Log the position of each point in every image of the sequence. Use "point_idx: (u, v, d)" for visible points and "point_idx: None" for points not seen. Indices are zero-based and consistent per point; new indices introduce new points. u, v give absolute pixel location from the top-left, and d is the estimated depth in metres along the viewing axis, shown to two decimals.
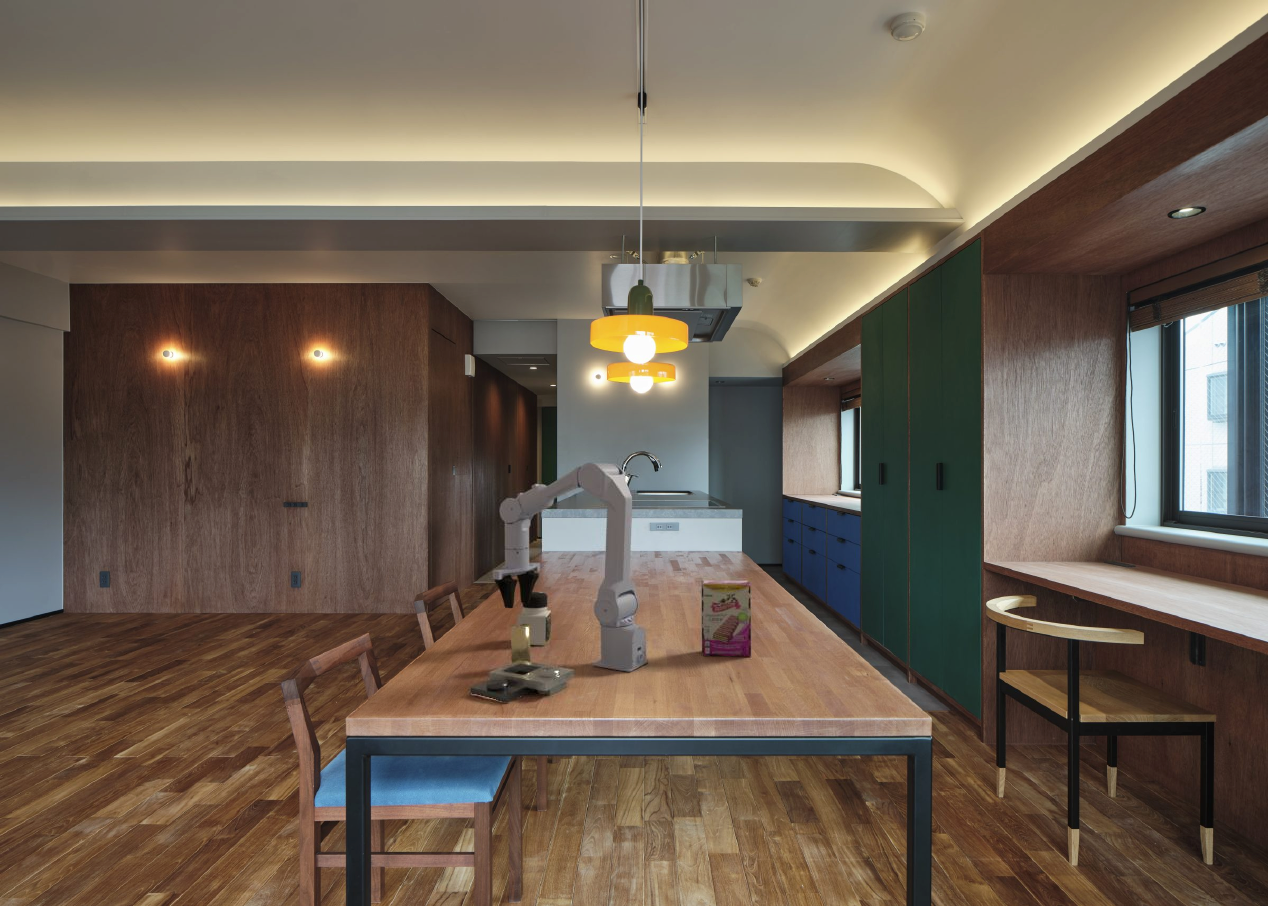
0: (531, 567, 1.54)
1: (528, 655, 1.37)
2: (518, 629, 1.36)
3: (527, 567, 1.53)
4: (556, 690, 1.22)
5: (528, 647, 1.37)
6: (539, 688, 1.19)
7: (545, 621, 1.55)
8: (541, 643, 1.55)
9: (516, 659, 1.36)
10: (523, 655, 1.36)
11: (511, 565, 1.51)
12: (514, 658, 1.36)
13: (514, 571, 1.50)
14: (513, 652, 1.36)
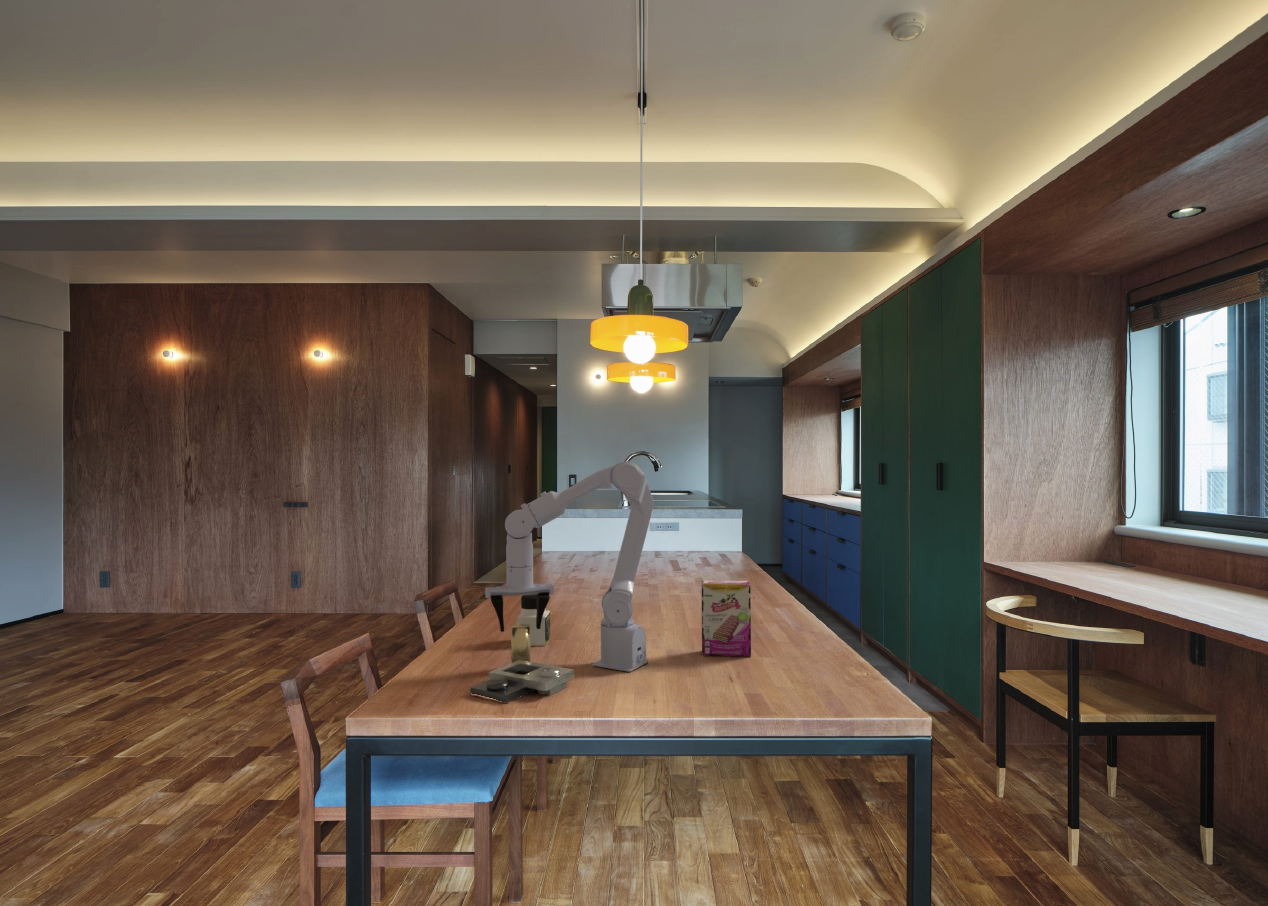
0: (532, 589, 1.37)
1: (528, 655, 1.37)
2: (518, 629, 1.36)
3: (523, 588, 1.36)
4: (556, 690, 1.22)
5: (528, 647, 1.37)
6: (539, 688, 1.19)
7: (544, 622, 1.55)
8: (541, 644, 1.55)
9: (516, 659, 1.36)
10: (523, 655, 1.36)
11: (507, 584, 1.37)
12: (514, 658, 1.36)
13: (505, 591, 1.35)
14: (513, 652, 1.36)
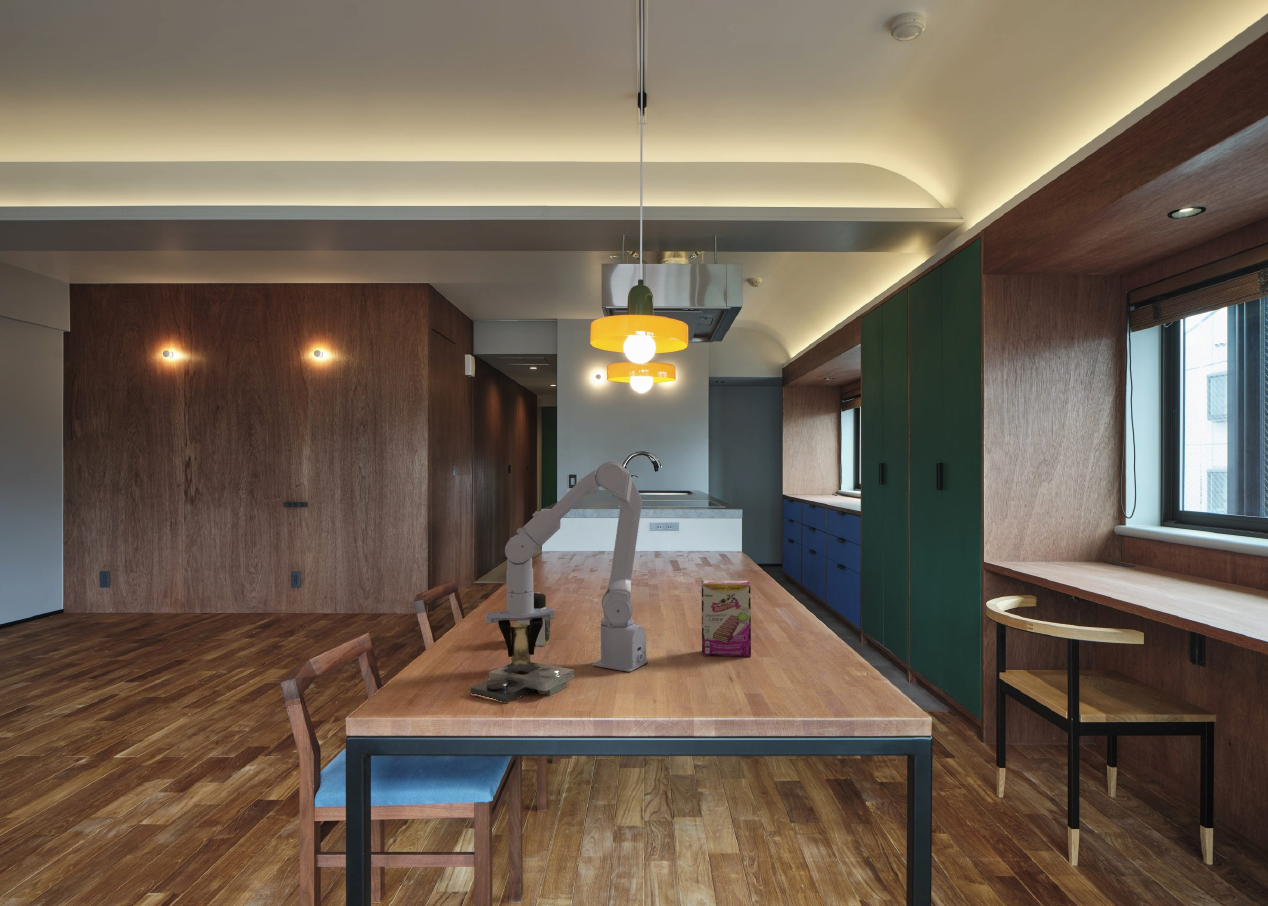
0: (532, 615, 1.36)
1: (528, 655, 1.37)
2: (518, 629, 1.36)
3: (523, 614, 1.35)
4: (556, 690, 1.22)
5: (528, 647, 1.37)
6: (539, 688, 1.19)
7: (544, 622, 1.55)
8: (541, 644, 1.55)
9: (516, 659, 1.36)
10: (523, 655, 1.36)
11: (507, 610, 1.37)
12: (514, 658, 1.36)
13: (505, 617, 1.35)
14: (513, 652, 1.36)
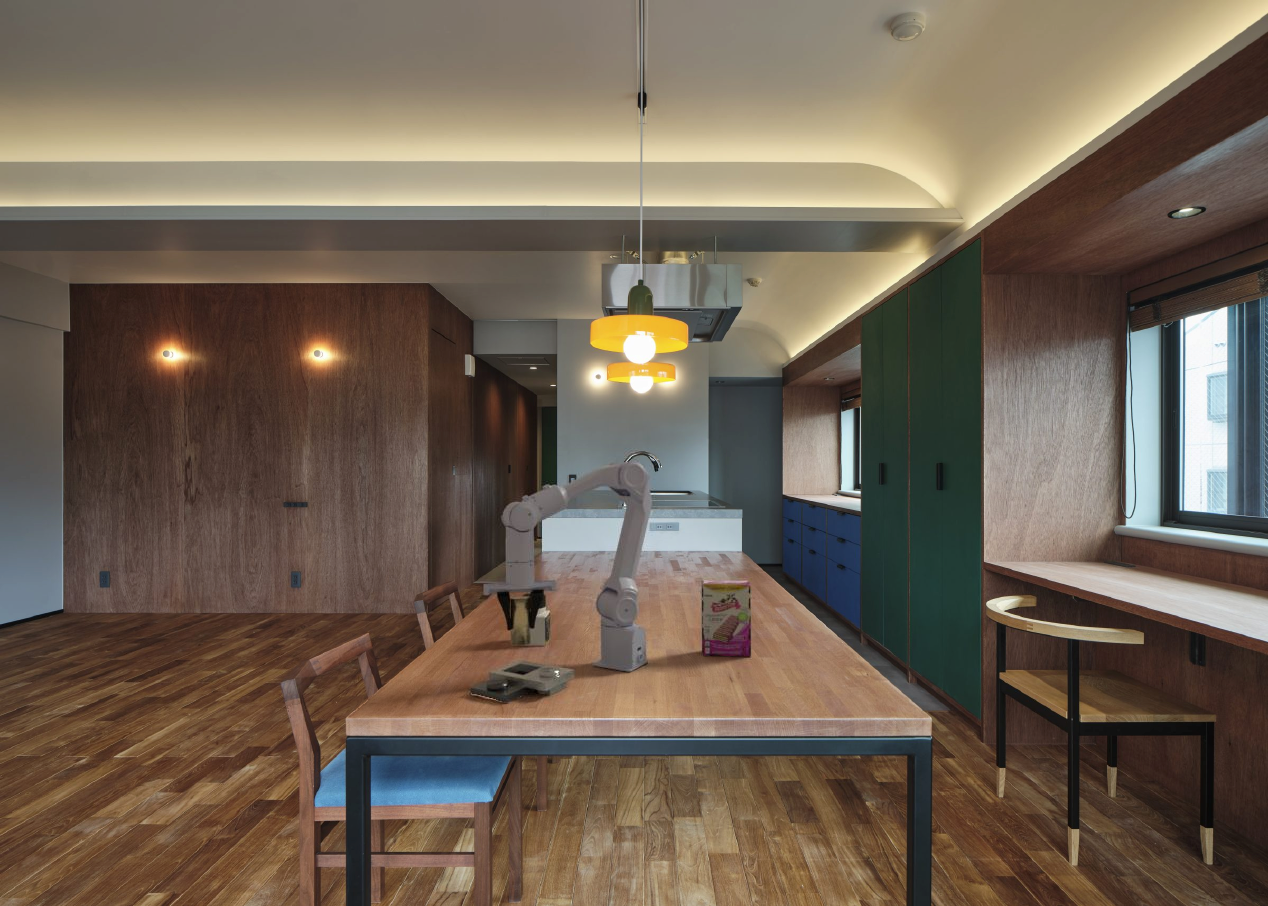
0: (533, 586, 1.29)
1: (528, 629, 1.29)
2: (518, 601, 1.28)
3: (523, 585, 1.28)
4: (556, 690, 1.22)
5: (528, 620, 1.29)
6: (539, 688, 1.19)
7: (544, 622, 1.55)
8: (541, 644, 1.55)
9: (515, 633, 1.28)
10: (523, 629, 1.28)
11: (506, 580, 1.29)
12: (513, 632, 1.29)
13: (504, 587, 1.28)
14: (512, 625, 1.29)
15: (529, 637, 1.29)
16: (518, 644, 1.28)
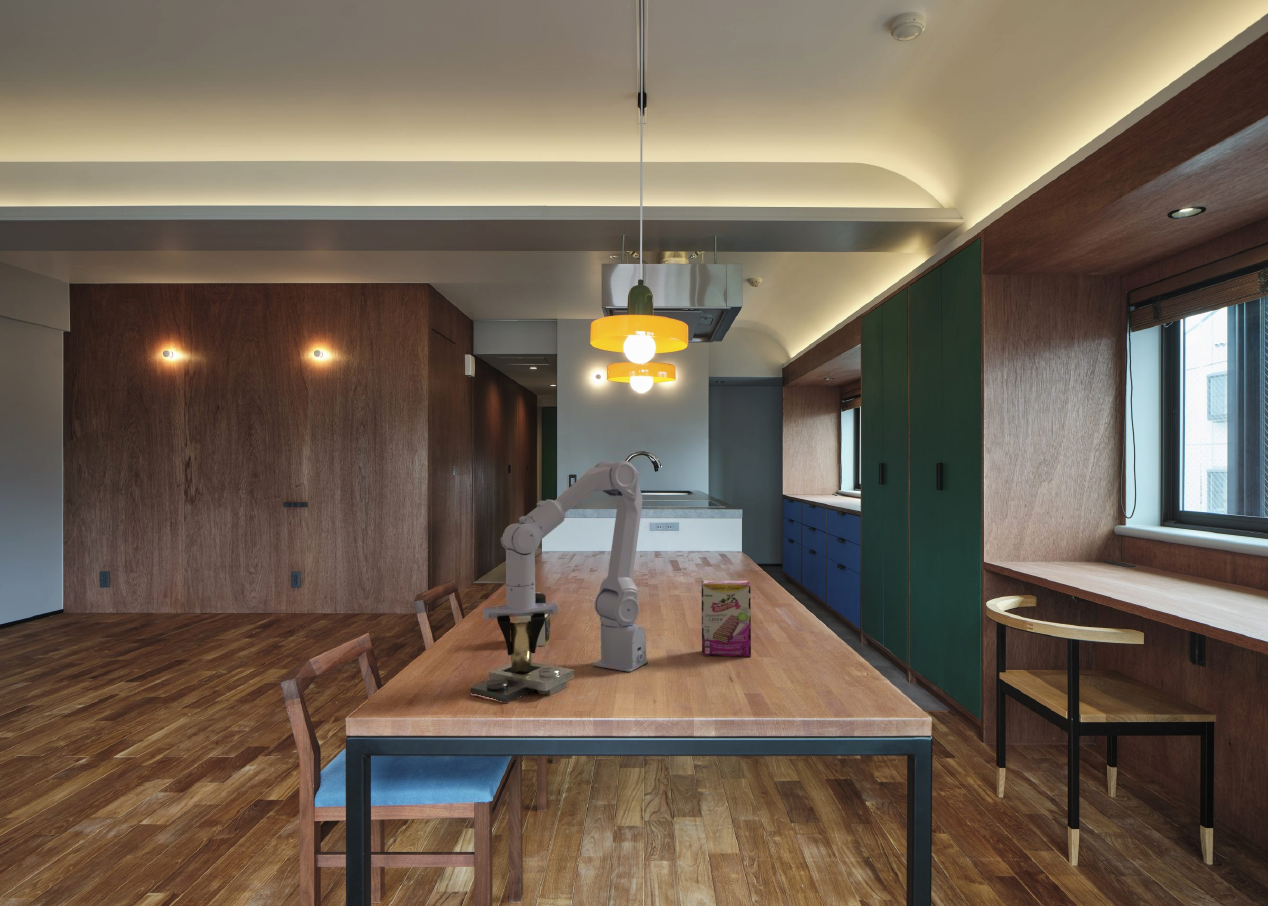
0: (534, 610, 1.26)
1: (529, 653, 1.27)
2: (518, 625, 1.26)
3: (524, 609, 1.25)
4: (556, 690, 1.22)
5: (529, 645, 1.27)
6: (539, 688, 1.19)
7: (544, 622, 1.55)
8: (541, 644, 1.55)
9: (516, 657, 1.26)
10: (524, 653, 1.26)
11: (506, 604, 1.26)
12: (513, 657, 1.26)
13: (505, 612, 1.25)
14: (513, 650, 1.26)
15: (530, 662, 1.27)
16: (519, 669, 1.25)
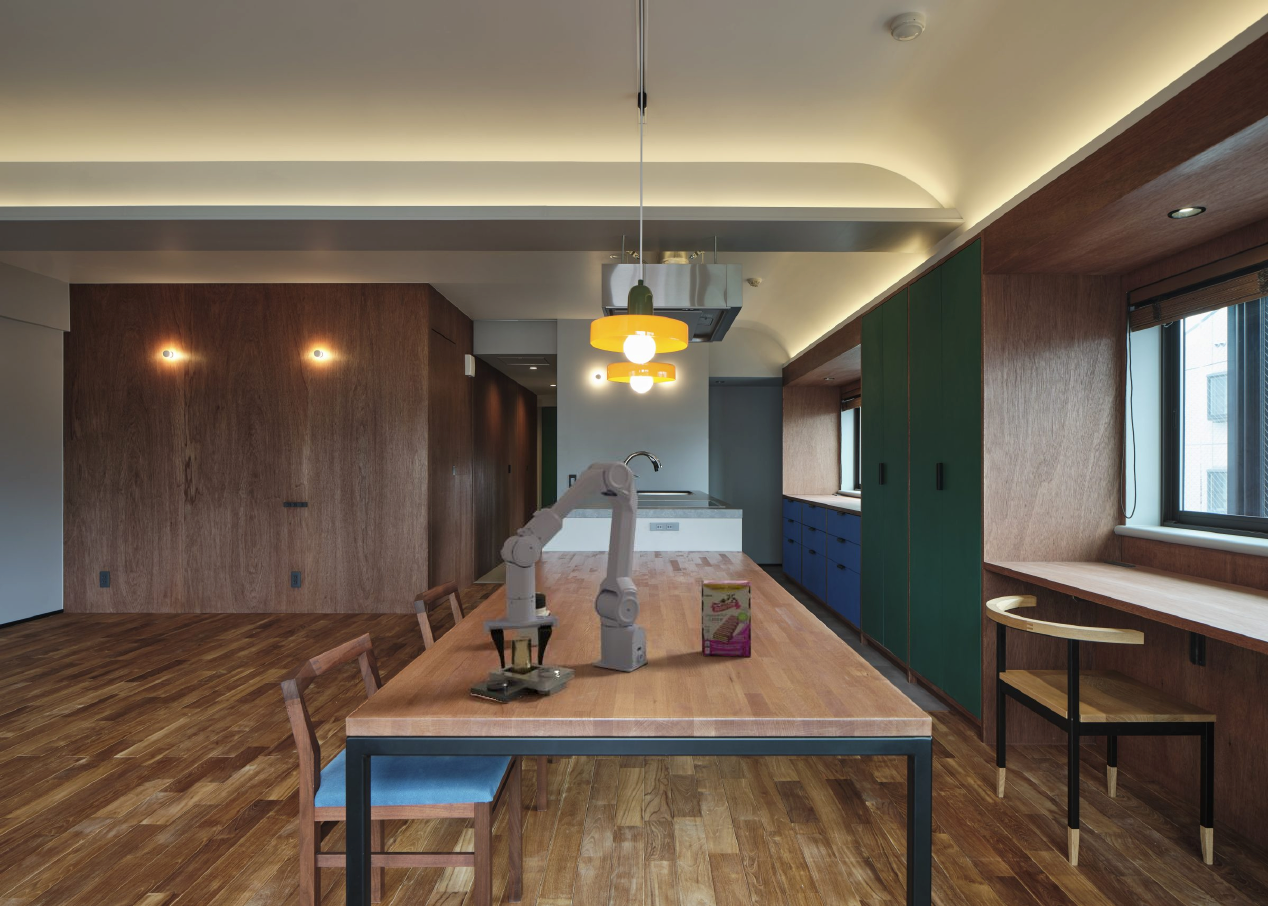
0: (534, 622, 1.26)
1: (529, 670, 1.27)
2: (519, 642, 1.26)
3: (524, 621, 1.25)
4: (556, 690, 1.22)
5: (529, 661, 1.27)
6: (539, 688, 1.19)
7: None
8: None
9: None
10: (524, 670, 1.26)
11: (507, 617, 1.26)
12: None
13: (505, 625, 1.25)
14: (513, 667, 1.26)
15: None
16: None
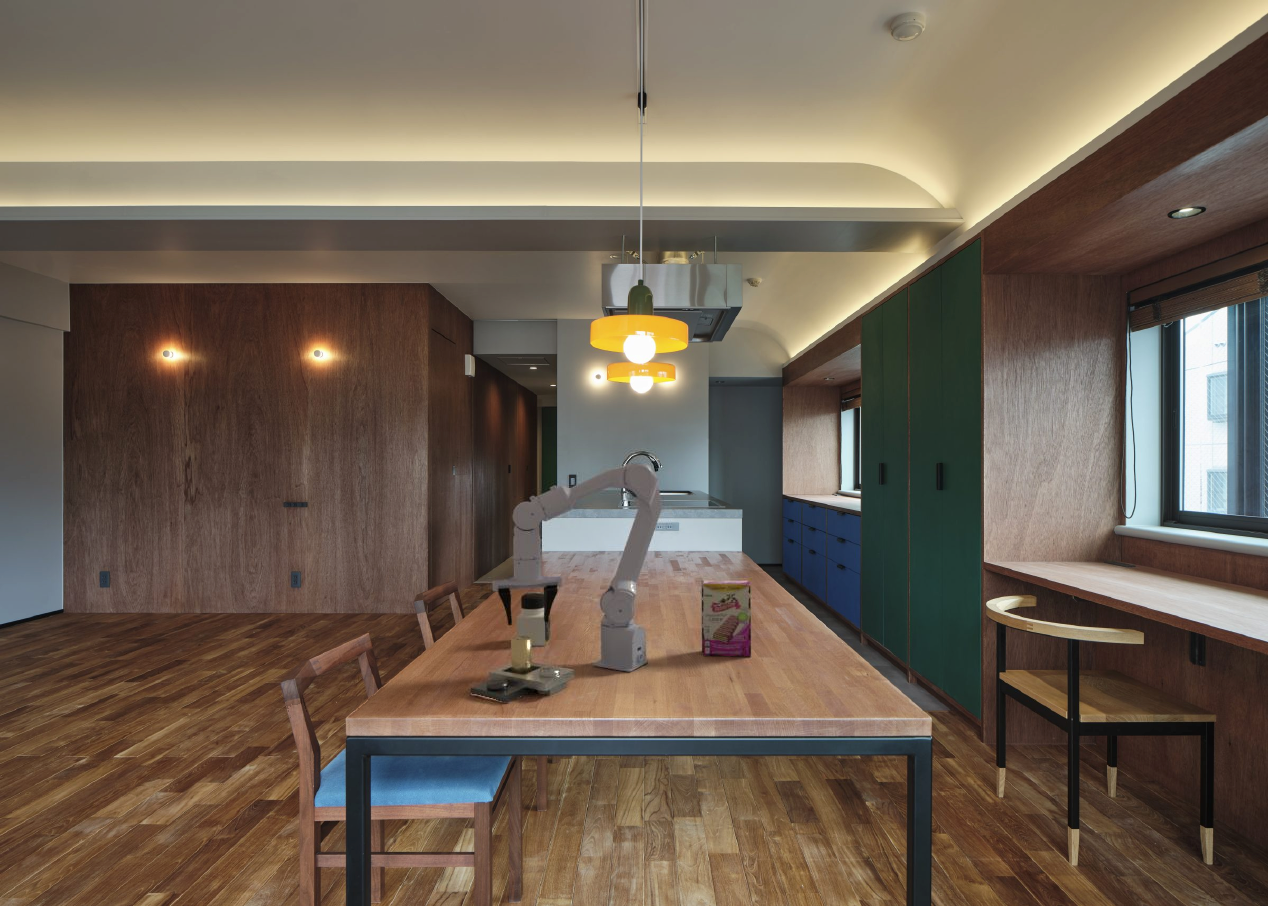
0: (540, 582, 1.35)
1: (529, 670, 1.27)
2: (519, 642, 1.26)
3: (531, 581, 1.34)
4: (556, 690, 1.22)
5: (529, 661, 1.27)
6: (539, 688, 1.19)
7: (544, 622, 1.55)
8: (541, 644, 1.55)
9: None
10: (524, 670, 1.26)
11: (514, 577, 1.35)
12: None
13: (513, 584, 1.34)
14: (513, 667, 1.26)
15: None
16: None
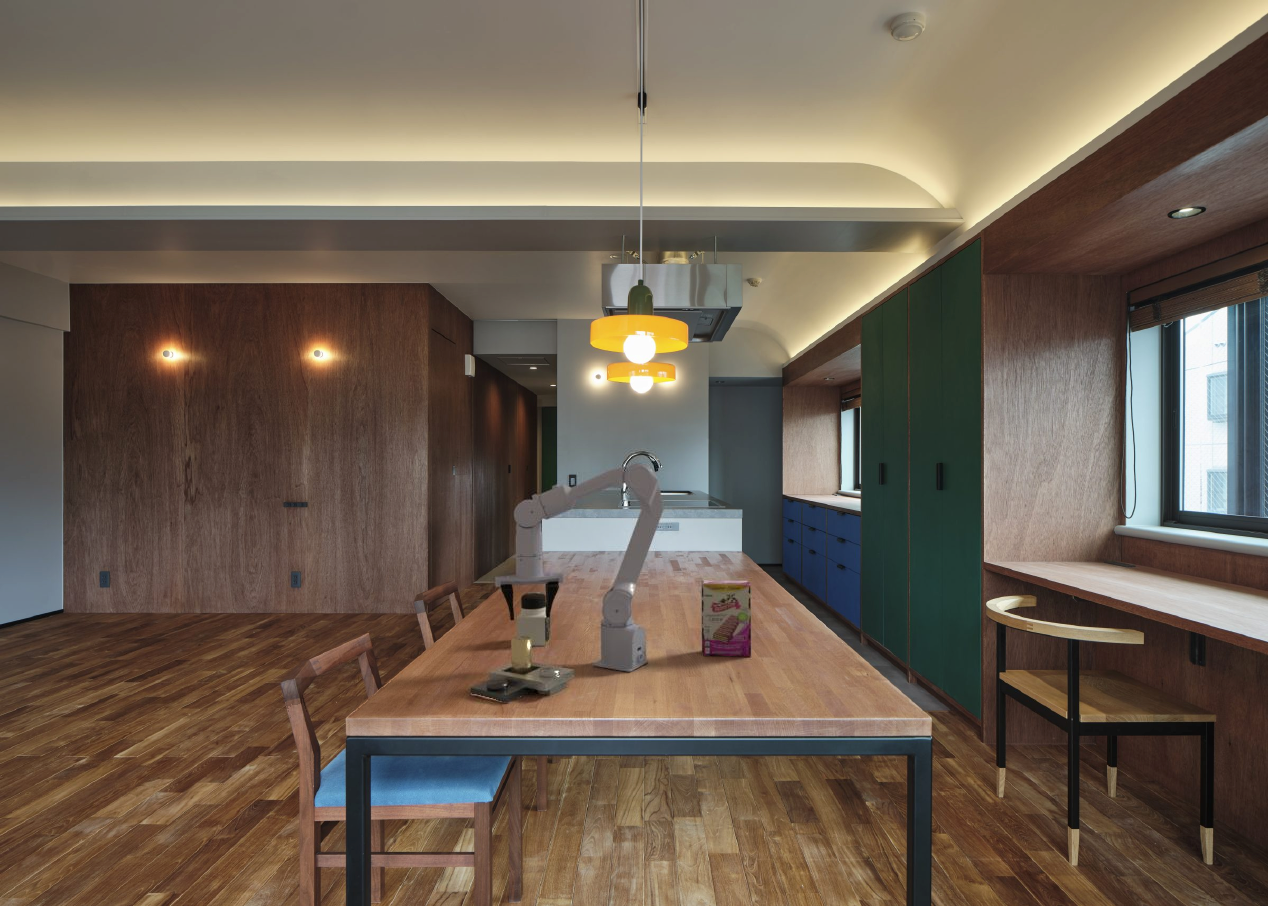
0: (541, 578, 1.38)
1: (529, 670, 1.27)
2: (519, 642, 1.26)
3: (532, 577, 1.37)
4: (556, 690, 1.22)
5: (530, 661, 1.27)
6: (539, 688, 1.19)
7: (544, 622, 1.55)
8: (541, 644, 1.55)
9: None
10: (524, 670, 1.26)
11: (516, 573, 1.38)
12: None
13: (515, 580, 1.37)
14: (513, 667, 1.26)
15: None
16: None
